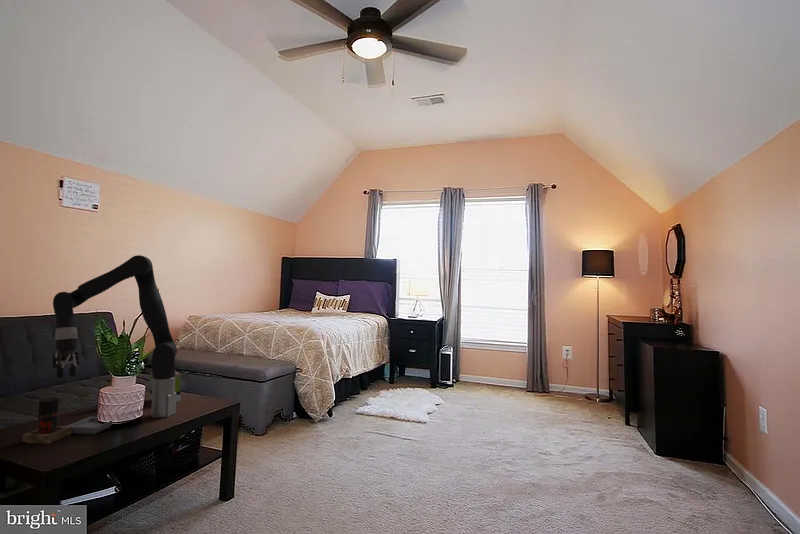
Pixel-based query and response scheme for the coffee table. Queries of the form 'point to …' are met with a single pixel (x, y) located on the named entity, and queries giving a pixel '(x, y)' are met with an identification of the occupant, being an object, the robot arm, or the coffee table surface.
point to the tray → (89, 426)
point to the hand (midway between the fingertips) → (66, 377)
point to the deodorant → (48, 415)
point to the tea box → (177, 385)
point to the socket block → (46, 435)
